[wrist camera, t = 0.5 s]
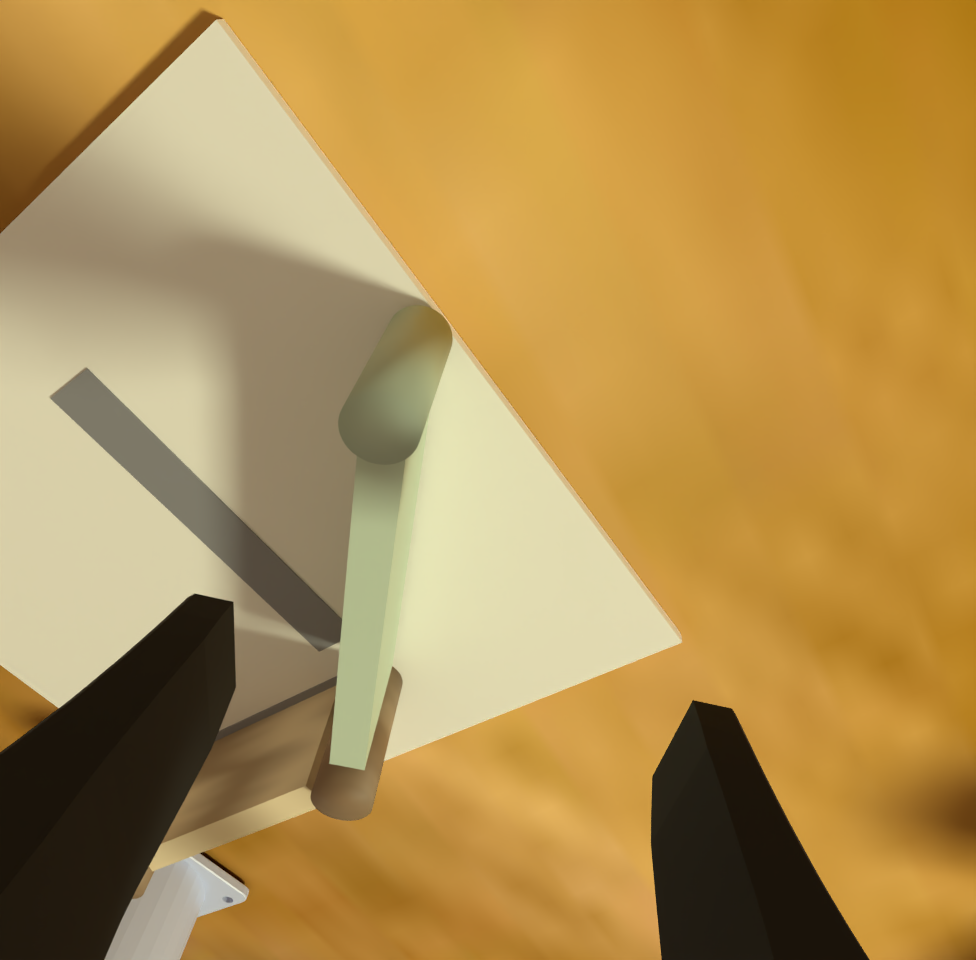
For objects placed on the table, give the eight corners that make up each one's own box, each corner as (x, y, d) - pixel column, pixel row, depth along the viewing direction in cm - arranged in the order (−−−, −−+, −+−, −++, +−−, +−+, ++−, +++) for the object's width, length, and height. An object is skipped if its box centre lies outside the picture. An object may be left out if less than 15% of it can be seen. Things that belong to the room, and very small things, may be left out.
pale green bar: (401, 665, 25) (370, 791, 21) (353, 656, 25) (312, 780, 21) (457, 312, 18) (425, 400, 14) (390, 299, 18) (340, 383, 14)
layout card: (222, 818, 32) (217, 828, 31) (-237, 472, 24) (-251, 480, 23) (680, 633, 24) (682, 643, 23) (224, 19, 16) (215, 19, 15)
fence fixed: (183, 787, 30) (126, 904, 26) (149, 761, 29) (84, 878, 25) (413, 686, 25) (385, 809, 22) (379, 652, 25) (344, 774, 21)
